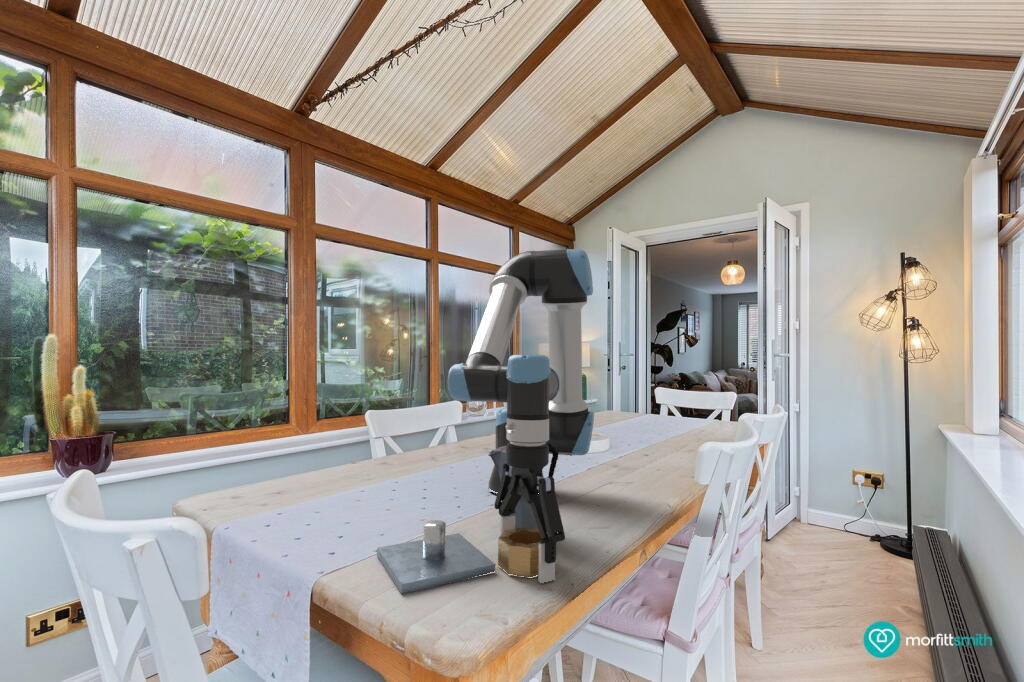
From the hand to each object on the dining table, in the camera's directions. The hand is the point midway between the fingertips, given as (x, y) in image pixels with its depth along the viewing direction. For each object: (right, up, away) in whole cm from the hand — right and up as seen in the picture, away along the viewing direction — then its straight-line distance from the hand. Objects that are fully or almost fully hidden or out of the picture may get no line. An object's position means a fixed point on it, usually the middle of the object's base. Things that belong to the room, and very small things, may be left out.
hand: (525, 565), depth 84 cm
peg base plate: (-16, 0, 0) cm, 16 cm away
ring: (0, 0, 0) cm, 0 cm away
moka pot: (0, -1, +17) cm, 17 cm away
